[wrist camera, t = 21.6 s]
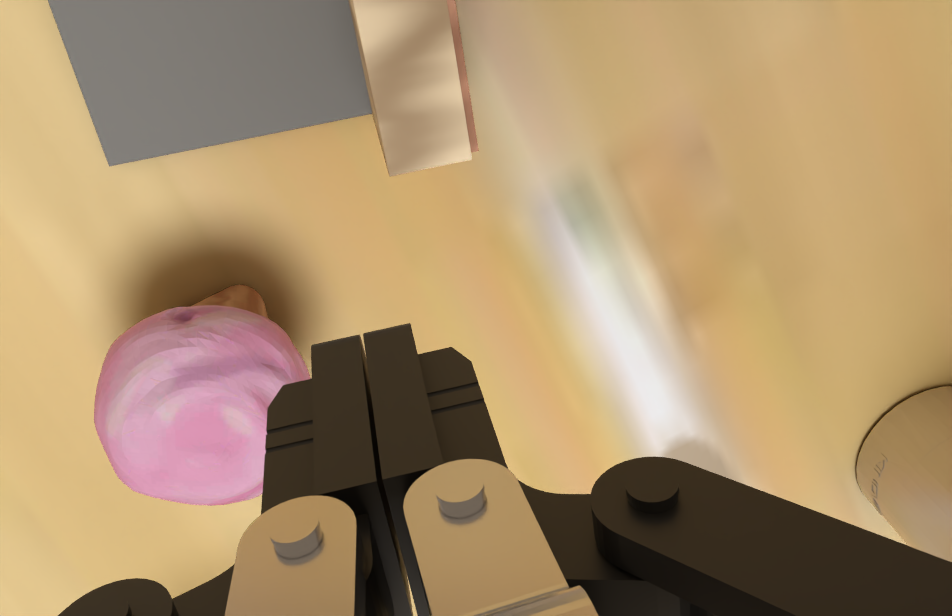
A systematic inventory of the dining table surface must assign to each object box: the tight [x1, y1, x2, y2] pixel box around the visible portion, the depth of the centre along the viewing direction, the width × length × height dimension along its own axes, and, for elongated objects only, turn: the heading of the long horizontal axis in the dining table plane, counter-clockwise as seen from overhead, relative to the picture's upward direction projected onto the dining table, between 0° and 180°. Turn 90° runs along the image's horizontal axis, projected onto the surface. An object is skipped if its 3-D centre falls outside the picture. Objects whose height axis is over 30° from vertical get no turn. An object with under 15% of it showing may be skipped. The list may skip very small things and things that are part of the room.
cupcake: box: [94, 285, 311, 505], centre depth 38 cm, size 9×9×10 cm
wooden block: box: [348, 0, 479, 176], centre depth 32 cm, size 3×8×10 cm
